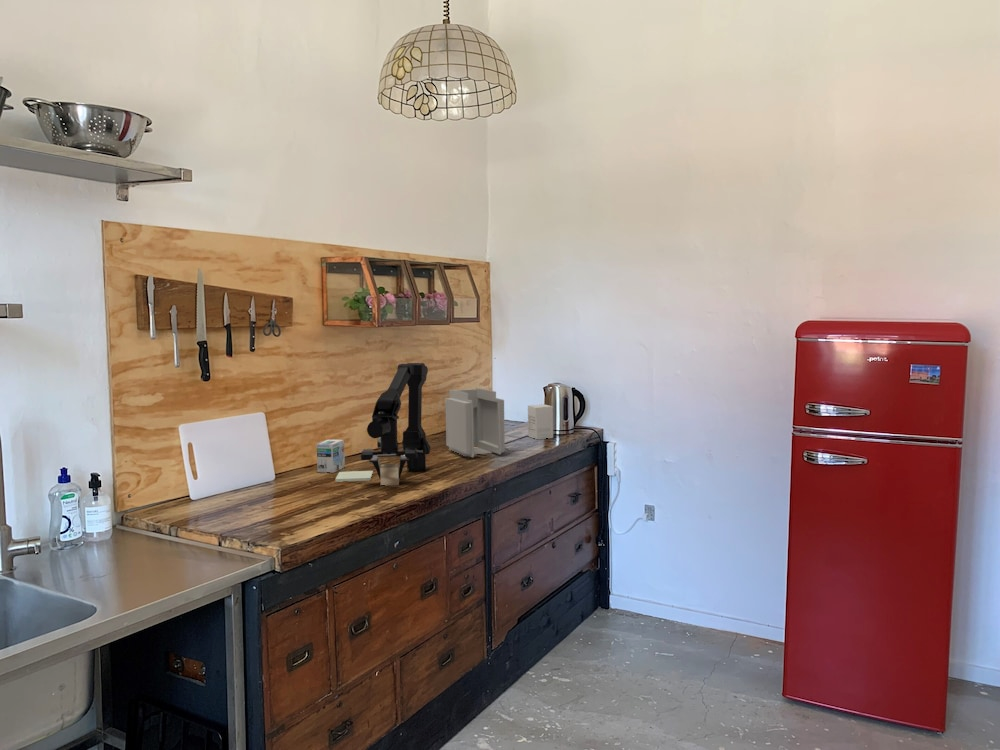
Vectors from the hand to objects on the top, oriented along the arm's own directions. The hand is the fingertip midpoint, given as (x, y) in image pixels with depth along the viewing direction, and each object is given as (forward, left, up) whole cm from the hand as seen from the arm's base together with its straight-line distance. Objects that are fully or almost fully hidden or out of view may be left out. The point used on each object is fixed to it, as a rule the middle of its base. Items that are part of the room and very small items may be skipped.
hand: (390, 478), depth 251 cm
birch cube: (0, 0, -2) cm, 2 cm away
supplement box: (-65, -84, -2) cm, 106 cm away
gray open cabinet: (-32, -50, -2) cm, 59 cm away
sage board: (+13, -11, -2) cm, 17 cm away
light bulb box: (+23, -26, -2) cm, 35 cm away
